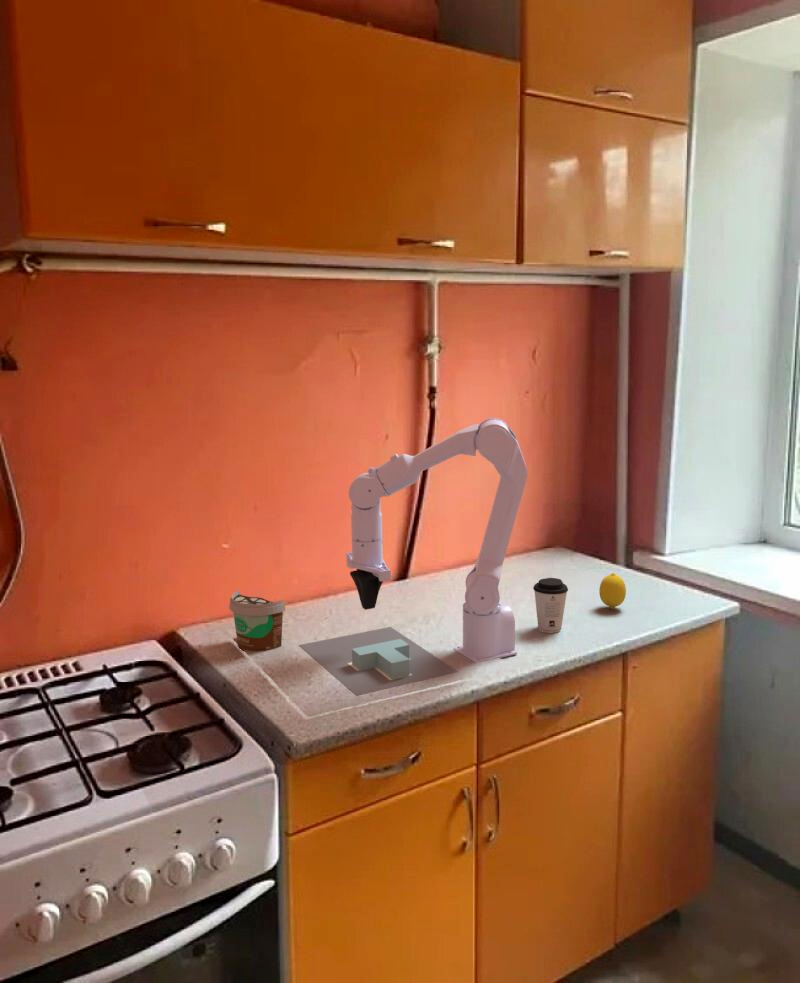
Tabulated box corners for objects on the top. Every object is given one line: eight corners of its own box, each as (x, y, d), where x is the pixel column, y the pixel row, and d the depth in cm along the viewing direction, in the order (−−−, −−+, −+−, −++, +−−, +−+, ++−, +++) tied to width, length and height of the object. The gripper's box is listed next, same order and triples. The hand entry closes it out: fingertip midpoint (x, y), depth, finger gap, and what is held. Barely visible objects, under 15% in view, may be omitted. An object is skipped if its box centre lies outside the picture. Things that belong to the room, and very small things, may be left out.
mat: (390, 629, 181) (390, 626, 181) (457, 674, 158) (458, 671, 158) (298, 647, 171) (298, 645, 171) (356, 698, 149) (356, 695, 149)
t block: (400, 653, 166) (400, 638, 166) (425, 671, 158) (425, 655, 158) (352, 664, 162) (351, 648, 161) (375, 683, 154) (375, 666, 153)
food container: (217, 647, 172) (214, 598, 170) (240, 637, 177) (237, 589, 175) (265, 660, 165) (263, 609, 163) (287, 650, 170) (285, 600, 168)
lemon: (600, 603, 195) (601, 568, 193) (626, 606, 193) (628, 570, 191) (597, 611, 189) (598, 575, 188) (623, 614, 188) (625, 578, 186)
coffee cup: (559, 637, 175) (560, 589, 173) (526, 631, 179) (527, 583, 177) (572, 626, 181) (573, 579, 179) (540, 620, 184) (541, 574, 182)
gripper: (331, 532, 169) (333, 600, 172) (365, 550, 157) (367, 623, 160) (364, 527, 173) (365, 594, 175) (400, 544, 160) (401, 616, 163)
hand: (368, 607), depth 168 cm, fingers closed
